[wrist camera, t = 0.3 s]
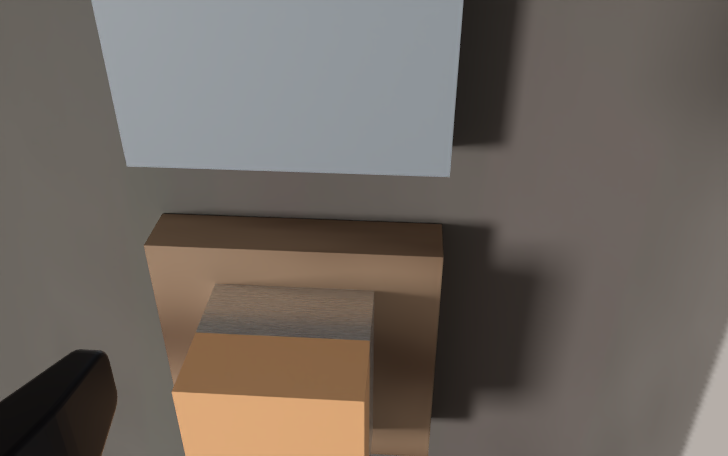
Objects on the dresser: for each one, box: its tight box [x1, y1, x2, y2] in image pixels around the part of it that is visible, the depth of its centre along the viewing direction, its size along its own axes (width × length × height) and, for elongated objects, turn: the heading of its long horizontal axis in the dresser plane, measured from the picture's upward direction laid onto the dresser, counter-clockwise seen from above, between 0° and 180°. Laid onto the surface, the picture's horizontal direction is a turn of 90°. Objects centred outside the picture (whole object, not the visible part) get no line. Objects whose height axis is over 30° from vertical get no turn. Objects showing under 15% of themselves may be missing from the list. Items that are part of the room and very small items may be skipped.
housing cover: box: [172, 333, 370, 456], centre depth 22 cm, size 7×6×2 cm
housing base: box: [196, 284, 374, 456], centre depth 25 cm, size 7×6×2 cm
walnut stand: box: [144, 214, 443, 456], centre depth 26 cm, size 10×10×2 cm
